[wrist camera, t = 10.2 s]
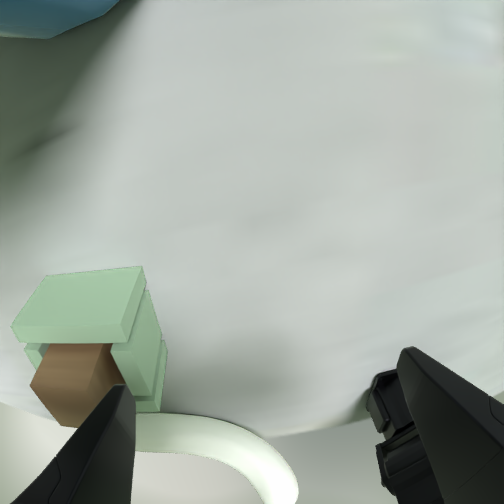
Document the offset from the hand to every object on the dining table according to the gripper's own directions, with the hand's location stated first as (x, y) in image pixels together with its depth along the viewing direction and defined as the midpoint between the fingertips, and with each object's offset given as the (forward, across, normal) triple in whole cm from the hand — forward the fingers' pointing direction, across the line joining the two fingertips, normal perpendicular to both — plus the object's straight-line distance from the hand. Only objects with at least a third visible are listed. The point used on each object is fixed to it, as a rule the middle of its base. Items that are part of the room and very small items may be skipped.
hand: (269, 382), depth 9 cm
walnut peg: (+12, +11, +6) cm, 17 cm away
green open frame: (+12, +11, +6) cm, 17 cm away
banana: (+12, +6, +20) cm, 24 cm away
